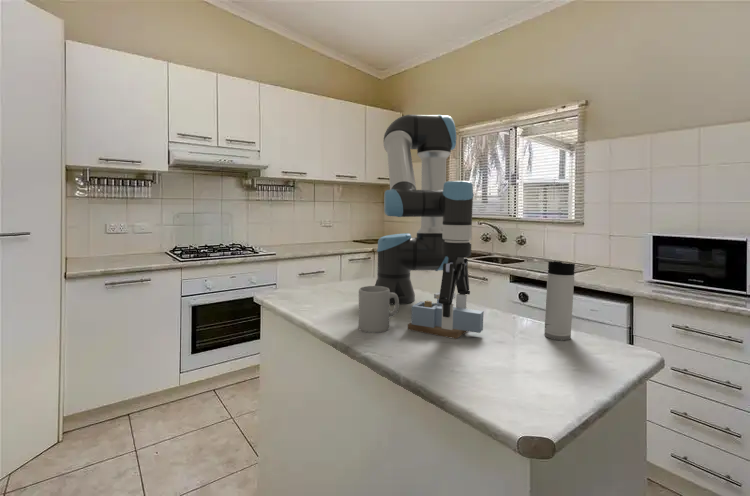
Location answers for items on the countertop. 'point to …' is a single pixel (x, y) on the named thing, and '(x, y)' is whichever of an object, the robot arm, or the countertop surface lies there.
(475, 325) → the link
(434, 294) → the block
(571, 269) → the travel mug
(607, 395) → the countertop surface
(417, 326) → the board
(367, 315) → the mug
